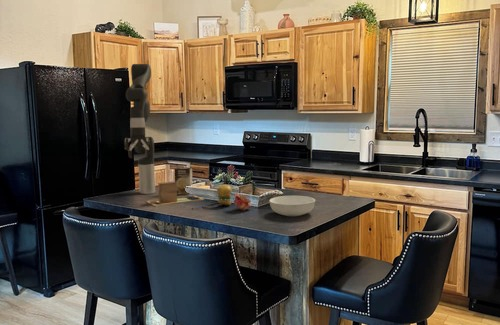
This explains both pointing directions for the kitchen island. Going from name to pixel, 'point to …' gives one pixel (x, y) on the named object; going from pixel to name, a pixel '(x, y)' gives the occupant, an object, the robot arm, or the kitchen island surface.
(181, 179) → the coffee box
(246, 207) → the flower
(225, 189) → the hamburger
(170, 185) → the block
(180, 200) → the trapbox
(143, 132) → the robot arm
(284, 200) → the serving bowl
